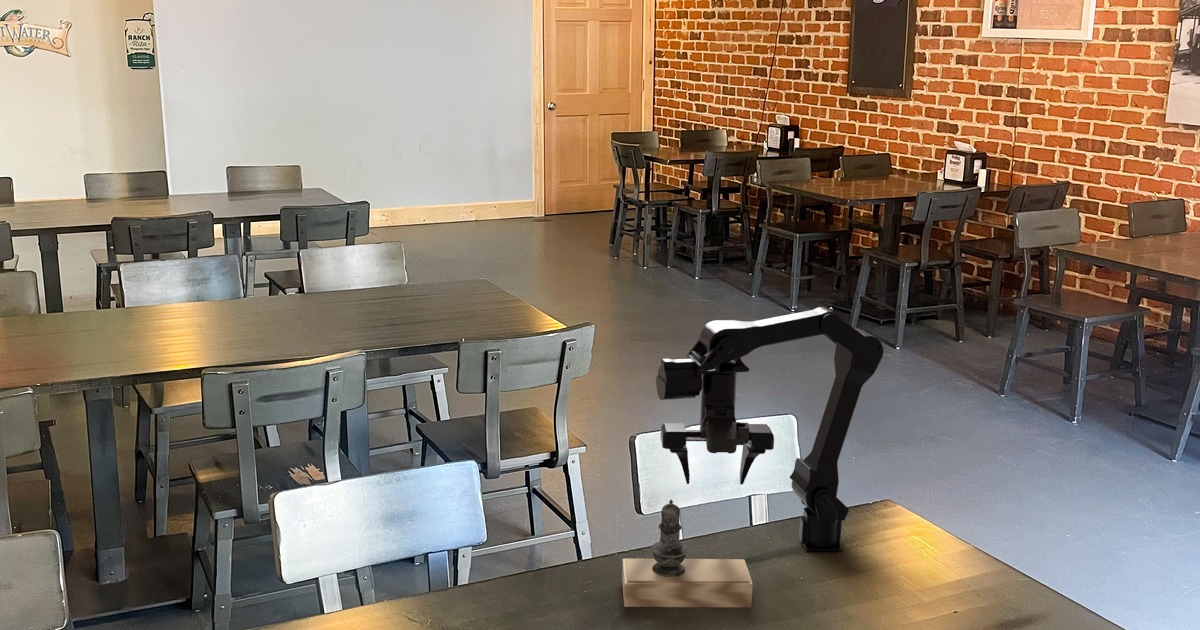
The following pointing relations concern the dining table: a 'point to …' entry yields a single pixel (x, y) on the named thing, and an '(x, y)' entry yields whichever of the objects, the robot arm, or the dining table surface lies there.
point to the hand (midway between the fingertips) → (714, 483)
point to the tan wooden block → (688, 584)
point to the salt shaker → (669, 544)
